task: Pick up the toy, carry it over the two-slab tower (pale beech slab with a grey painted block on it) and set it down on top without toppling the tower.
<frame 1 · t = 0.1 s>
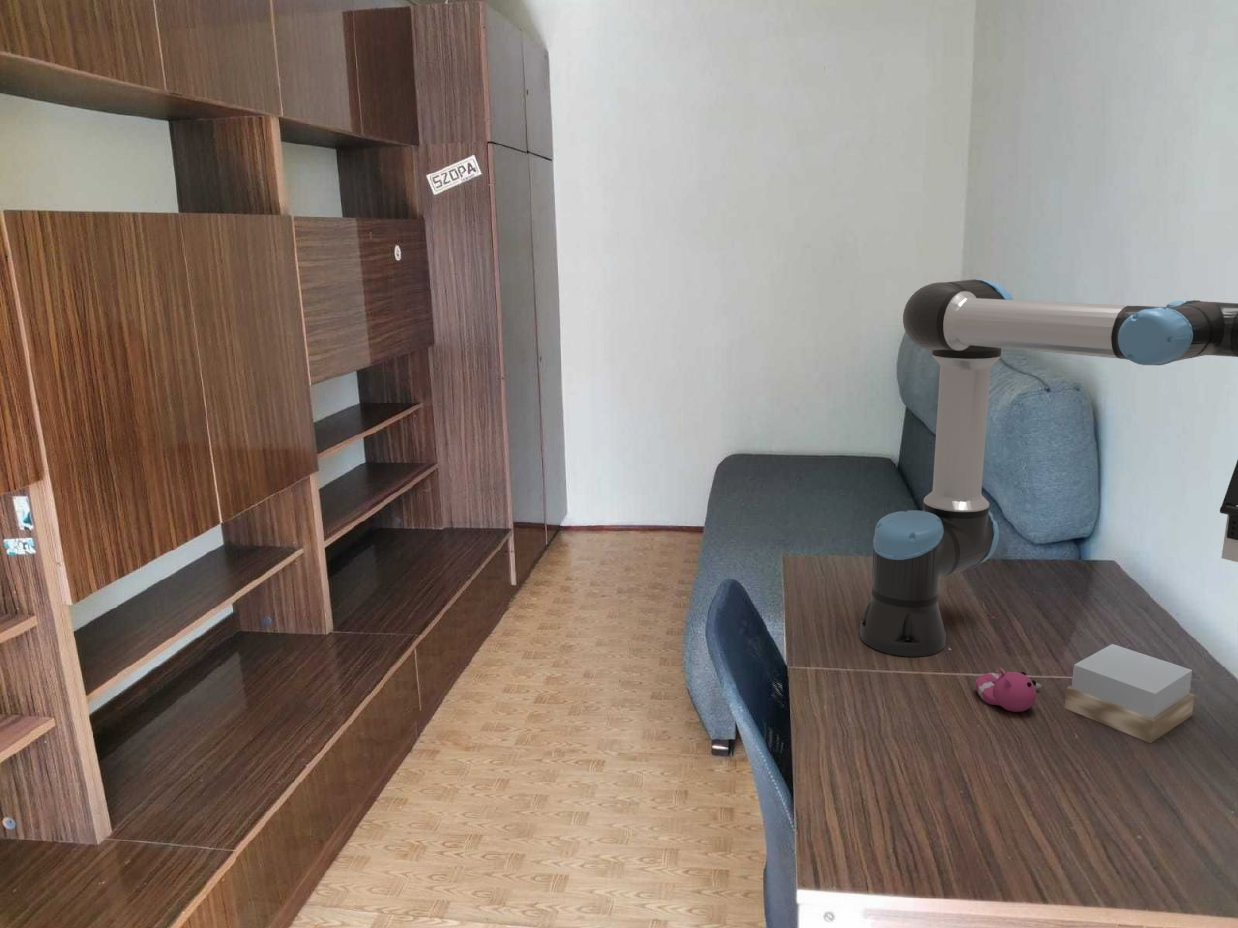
toy: (1011, 702, 146), on the table
lower slab: (1127, 714, 142), on the table, touching upper block
upper block: (1129, 690, 141), point 3 cm above the table, touching lower slab
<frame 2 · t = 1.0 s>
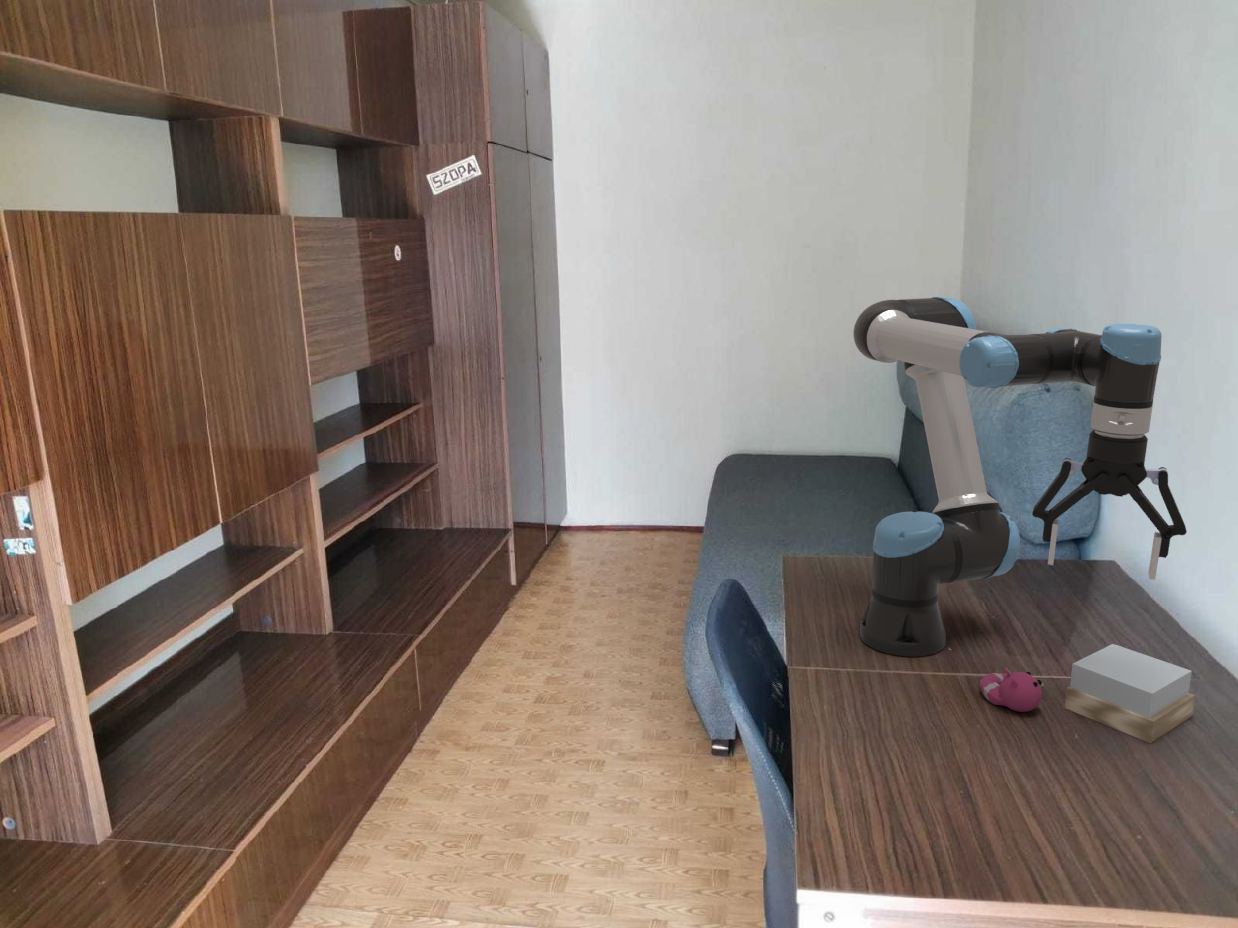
hand: (1100, 569, 138), 23 cm above the table, fingers open, 13 cm apart
nothing on the table moved.
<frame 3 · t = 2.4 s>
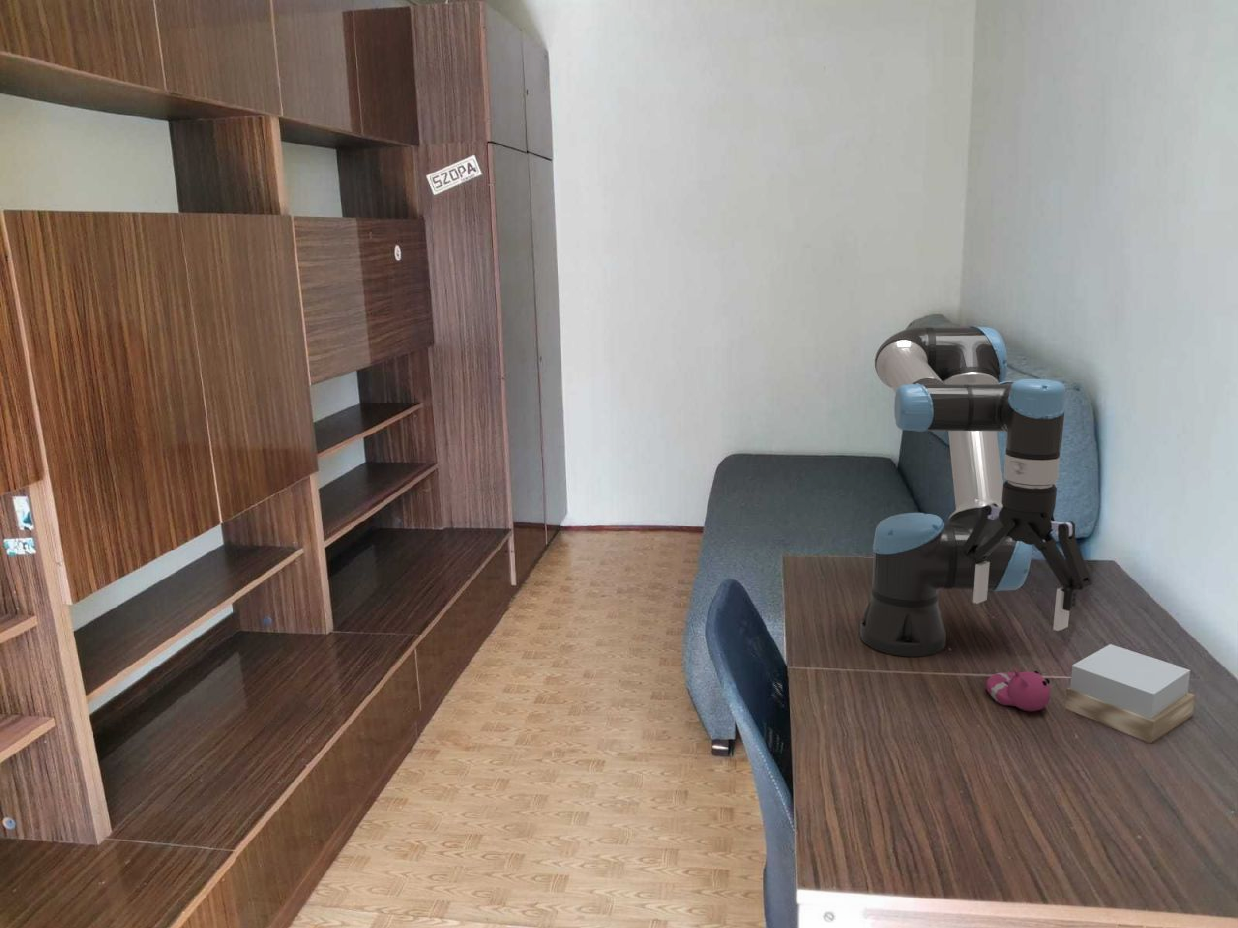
hand: (1018, 614, 142), 15 cm above the table, fingers open, 13 cm apart
toy: (1022, 701, 146), on the table
everything else where it was.
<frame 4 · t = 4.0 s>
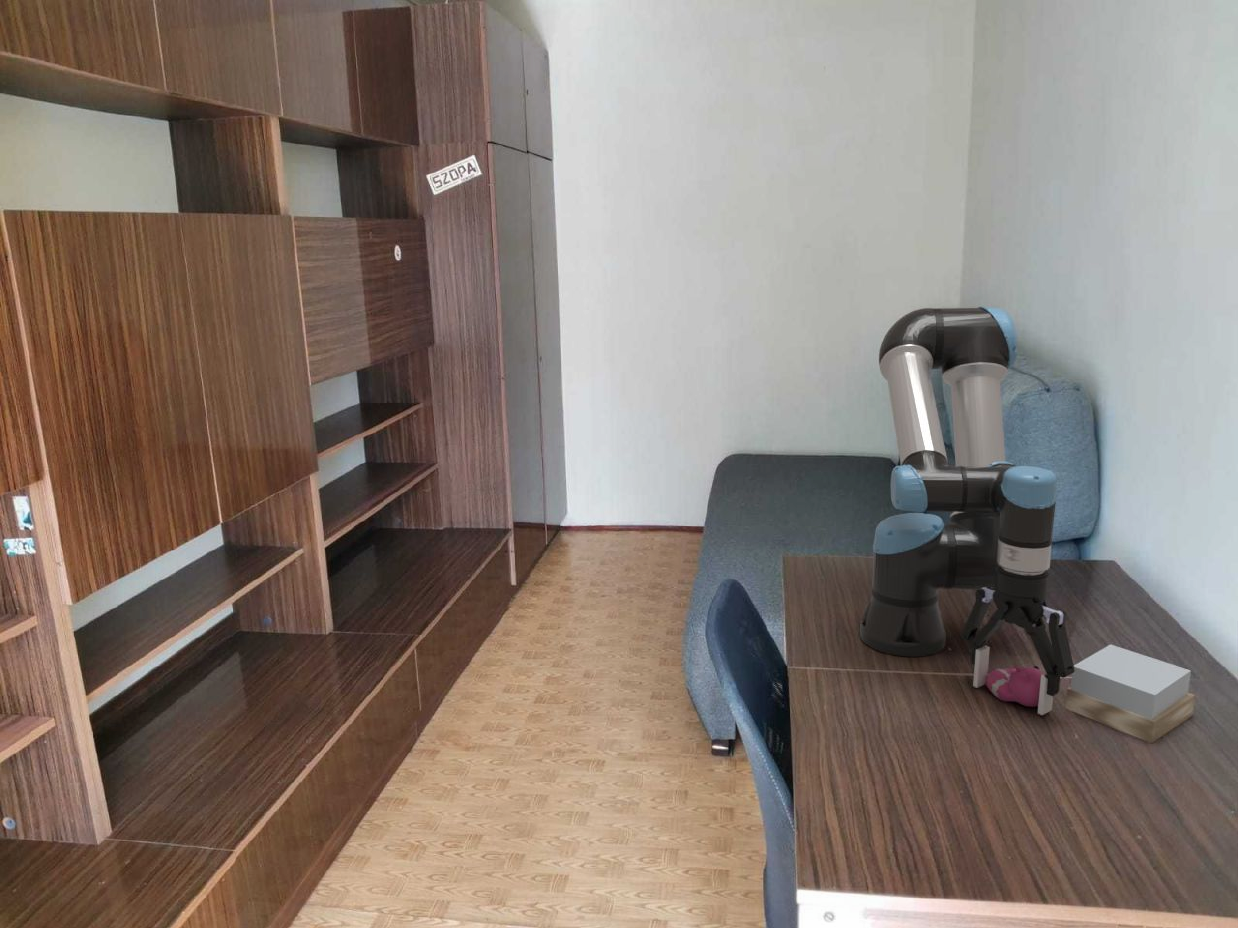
hand: (1011, 697, 146), 1 cm above the table, fingers closed on toy, 10 cm apart
toy: (1022, 696, 147), on the table, touching gripper
everything else where it was.
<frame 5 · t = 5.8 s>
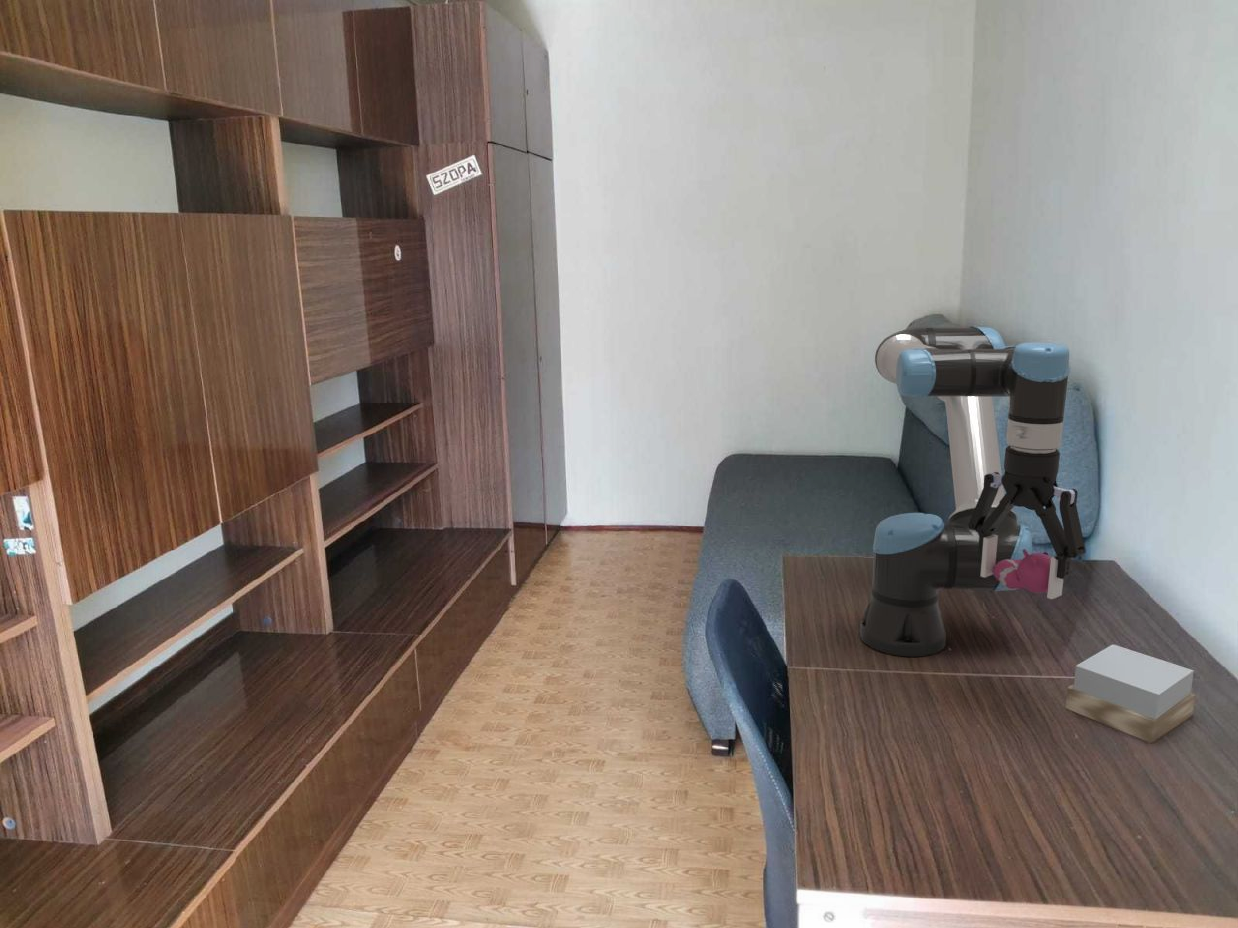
hand: (1019, 585, 142), 19 cm above the table, fingers closed on toy, 10 cm apart
toy: (1031, 585, 143), point 19 cm above the table, touching gripper
lower slab: (1127, 714, 142), on the table
upper block: (1131, 691, 141), point 4 cm above the table
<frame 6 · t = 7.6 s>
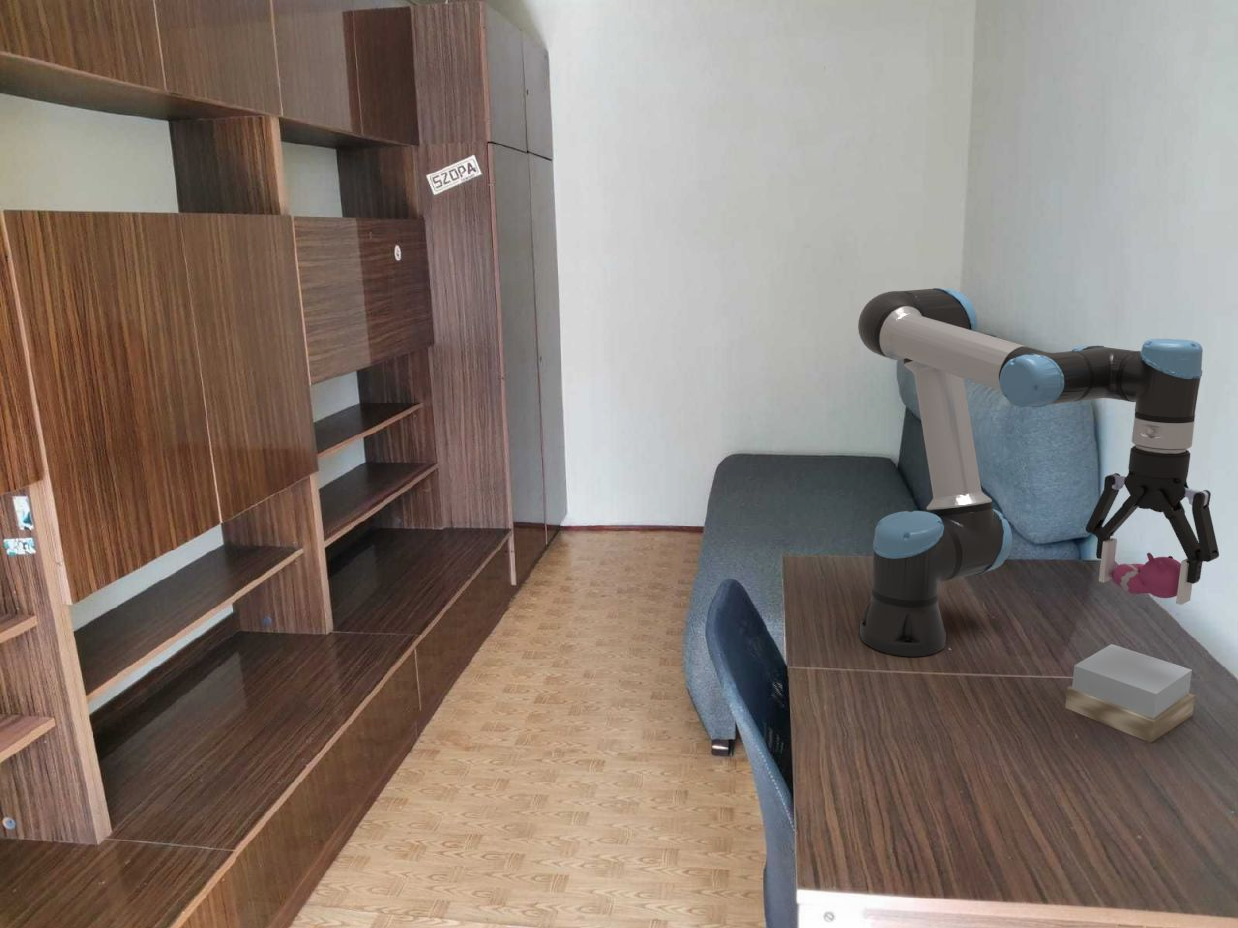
hand: (1143, 590, 137), 20 cm above the table, fingers closed on toy, 10 cm apart
toy: (1153, 590, 139), point 19 cm above the table, touching gripper
lower slab: (1127, 714, 142), on the table, touching upper block
upper block: (1129, 691, 141), point 3 cm above the table, touching lower slab
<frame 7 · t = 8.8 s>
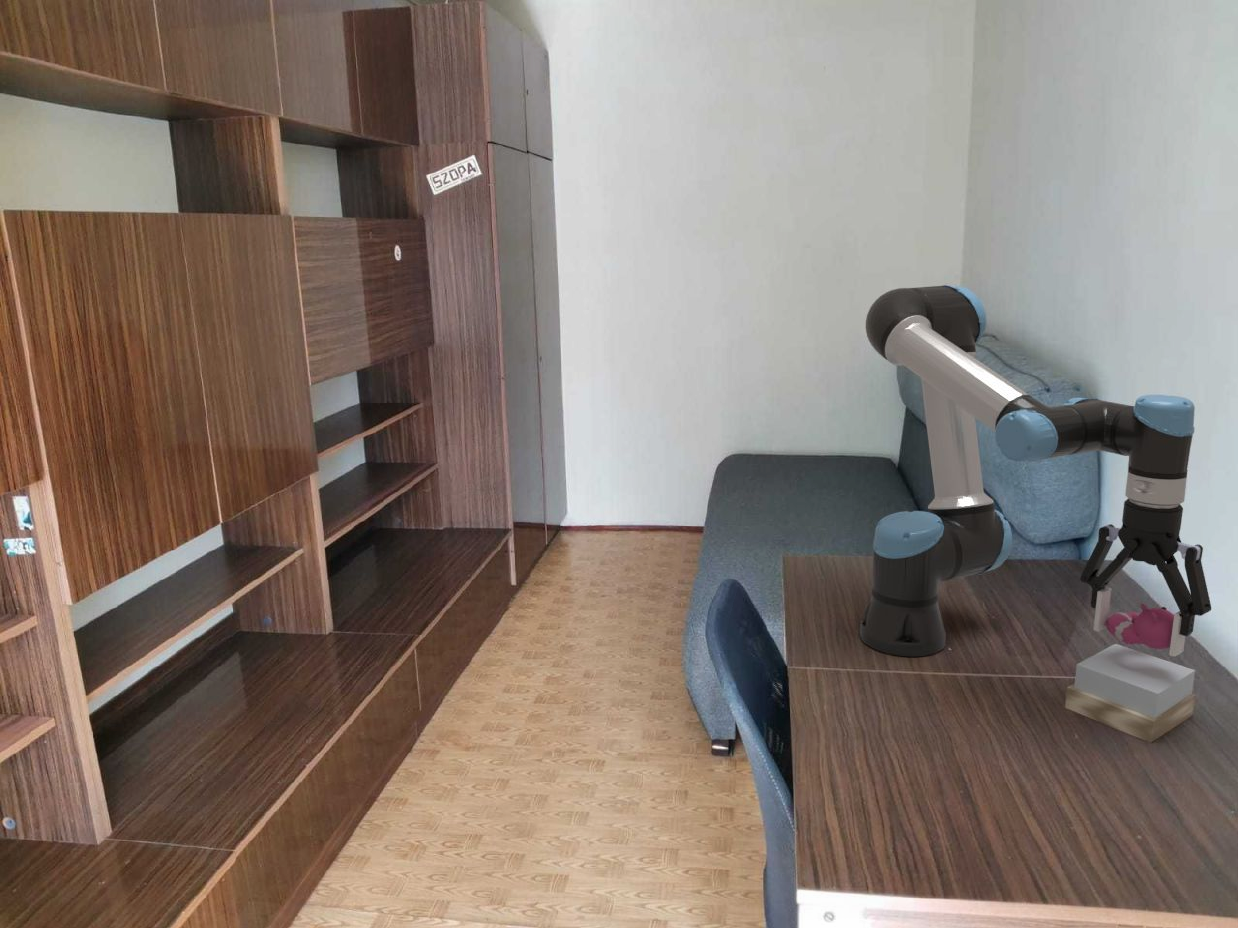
hand: (1136, 640, 139), 12 cm above the table, fingers closed on toy, 10 cm apart
toy: (1146, 640, 141), point 11 cm above the table, touching gripper
everything else where it was.
when the fingers open (10 cm above the table, at t = 9.9 s): toy drops 2 cm, resting on upper block.
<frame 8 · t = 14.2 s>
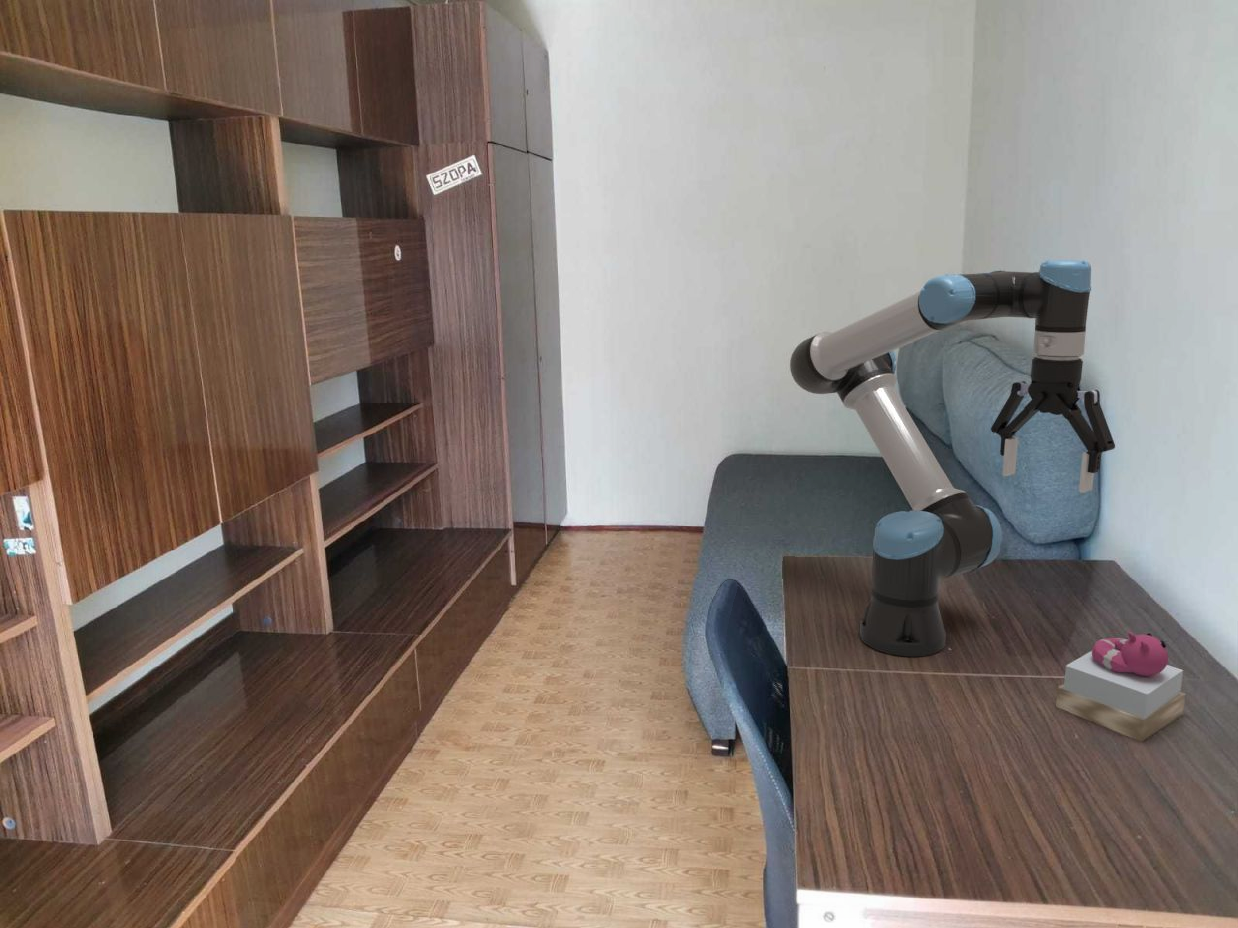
hand: (1045, 482, 154), 32 cm above the table, fingers open, 13 cm apart
toy: (1131, 666, 141), point 7 cm above the table, touching upper block
lower slab: (1118, 713, 142), on the table, touching upper block
upper block: (1121, 691, 141), point 3 cm above the table, touching lower slab, toy
at the end: toy inside the target area on the upper block (1.7 cm from its centre), point 3.8 cm above the upper block's base; upper block tilted 0°; toy touching upper block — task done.
